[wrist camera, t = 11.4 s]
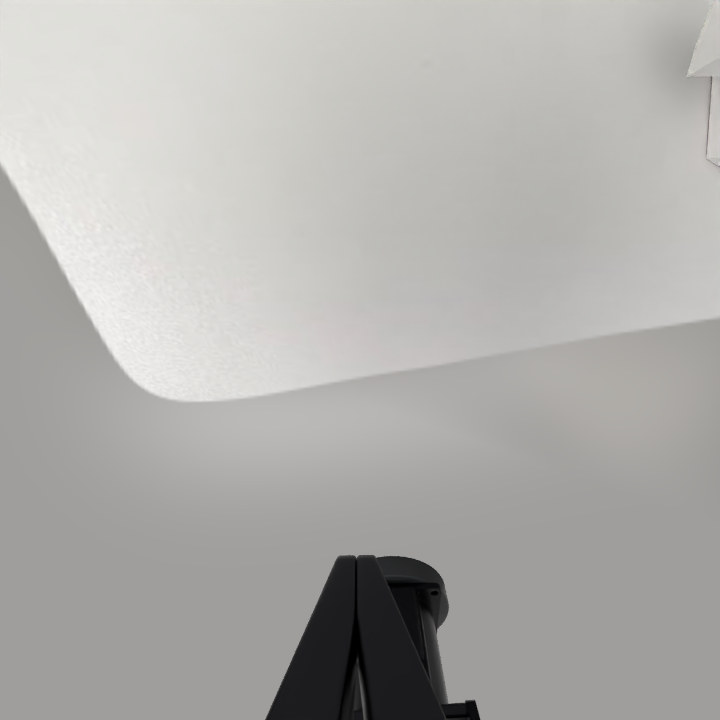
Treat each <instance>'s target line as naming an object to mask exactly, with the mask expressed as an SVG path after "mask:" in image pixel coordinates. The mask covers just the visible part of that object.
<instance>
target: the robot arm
mask: <svg viewBox="0 0 720 720" xmlns="http://www.w3.org/2000/svg"><path fill="white" fill-rule="evenodd" d="M441 594H442V592H441V587H440V585H439V584H438V583H434V582H433V583H387V582H386V579H385V577H384V575H383V572H382V570H381V568H380V565H379V563H378V561H377V559H376V557H375V556H374V555H359V556H358V557H357V560H356V557H355V556H353V555H352V556H351V555H347V556H339V557H338V558H337V559H336V561H335V564H334V566H333V568H332V570H331V572H330V575H329V577H328V579H327V581H326V584H325V586H324V588H323V591H322V593H321V595H320V597H319V600H318V602H317V604H316V606H315V609H314V611H313V613H312V615H311V618H310V620H309V622H308V624H307V627H306V629H305V632H304V634H303V636H302V638H301V640H300V642H299V645H298V647H297V649H296V652H295V654H294V656H293V658H292V661H291V663H290V665H289V667H288V670H287V672H286V674H285V676H284V679H283V681H282V683H281V685H280V688H279V690H278V692H277V695H276V697H275V699H274V701H273V703H272V706H271V708H270V710H269V713H268V715H267V717H266V719H265V720H480V717H479V713H478V710H477V705H476V702H475V700H466V701H465V703H454V704H448V699H447V693H446V687H445V681H444V676H443V670H442V664H441V658H440V652H439V646H438V641H437V627H438V619H439V611H440V603H441Z"/></svg>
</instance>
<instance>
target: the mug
mask: <svg viewBox="0 0 720 720" xmlns="http://www.w3.org/2000/svg"><path fill="white" fill-rule="evenodd" d="M706 76H712V90H711V104H710V117H709V131H708V145H707V158H706V159H708V160H710V161H711V162H713V163H715V164H716V165H718V166H719V167H720V0H713V3H712V5H711V8H710V10H709V13H708V15H707V18H706V20H705V23H704V25H703V28H702V30H701V33H700V35H699V38H698V40H697V43H696V47H695V50H694V53H693V57H692V60H691V63H690V67H689V70H688V73H687V76H686V77H706Z"/></svg>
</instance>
